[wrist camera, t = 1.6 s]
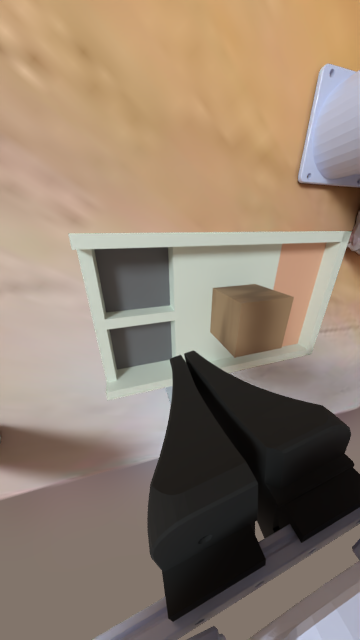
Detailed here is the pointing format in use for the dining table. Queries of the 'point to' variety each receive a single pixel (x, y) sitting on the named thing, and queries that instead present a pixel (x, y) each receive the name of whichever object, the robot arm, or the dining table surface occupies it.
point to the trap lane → (197, 295)
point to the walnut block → (249, 318)
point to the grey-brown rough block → (355, 236)
